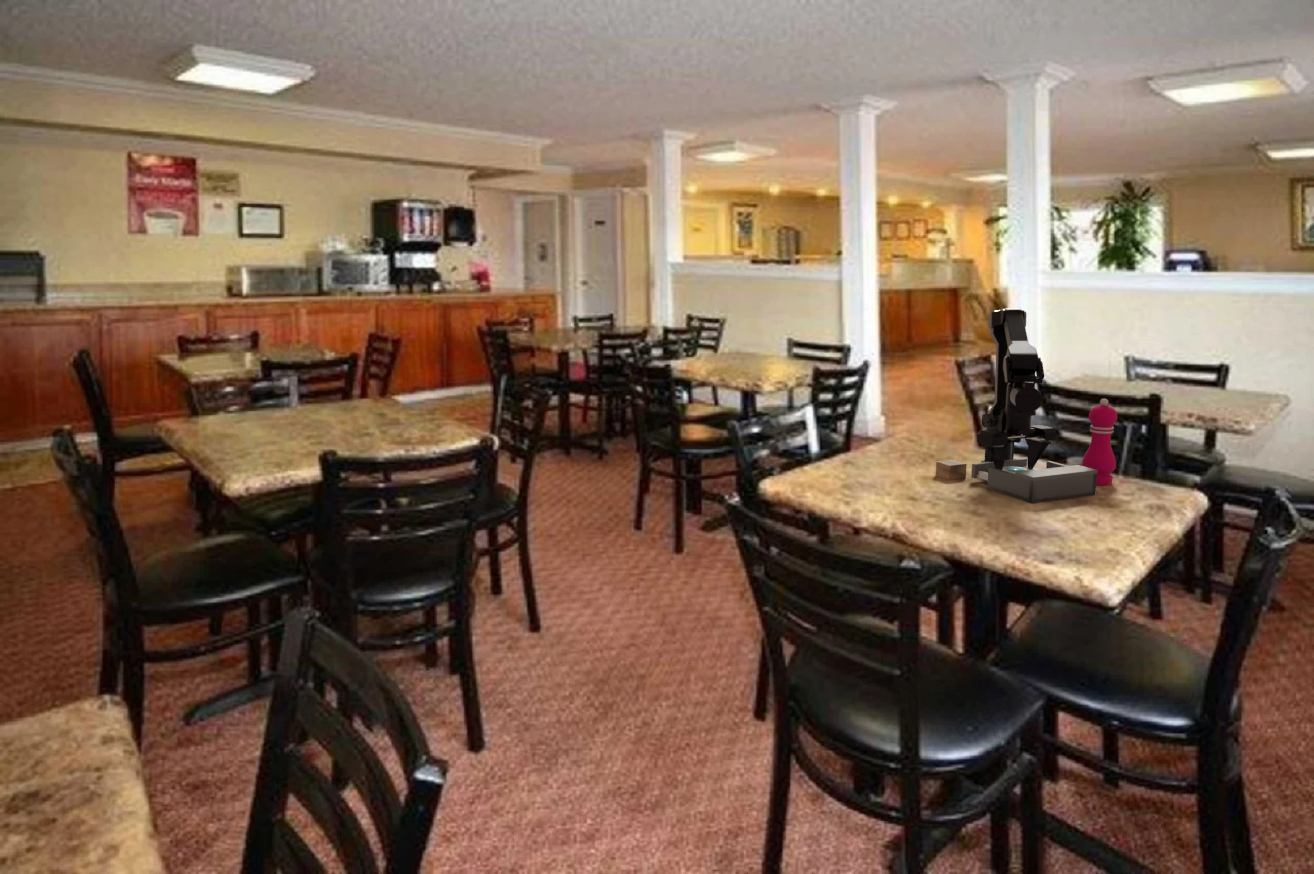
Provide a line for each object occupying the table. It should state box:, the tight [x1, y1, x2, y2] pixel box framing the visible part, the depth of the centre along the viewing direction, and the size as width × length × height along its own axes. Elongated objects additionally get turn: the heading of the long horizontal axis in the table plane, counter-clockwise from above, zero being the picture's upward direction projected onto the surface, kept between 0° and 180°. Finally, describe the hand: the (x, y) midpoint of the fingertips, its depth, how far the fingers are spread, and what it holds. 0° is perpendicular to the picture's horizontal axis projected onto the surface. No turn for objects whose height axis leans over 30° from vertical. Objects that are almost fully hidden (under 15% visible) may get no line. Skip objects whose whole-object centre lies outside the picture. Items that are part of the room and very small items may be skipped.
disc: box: [1002, 466, 1030, 474], centre depth 216 cm, size 7×7×2 cm
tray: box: [971, 457, 1038, 482], centre depth 215 cm, size 16×14×3 cm
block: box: [935, 459, 967, 481], centre depth 224 cm, size 5×5×4 cm
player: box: [986, 460, 1097, 504], centre depth 208 cm, size 18×14×6 cm
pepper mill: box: [1081, 398, 1118, 486], centre depth 215 cm, size 7×7×20 cm
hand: (1014, 471), depth 216 cm, fingers open, 9 cm apart
